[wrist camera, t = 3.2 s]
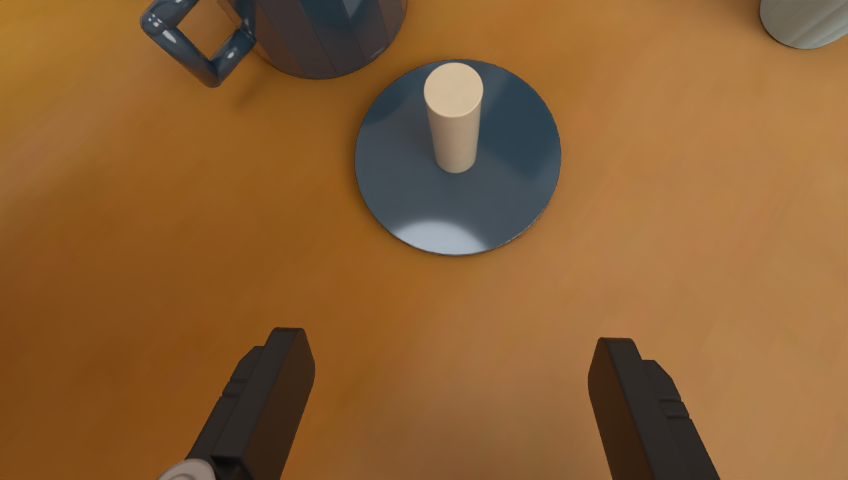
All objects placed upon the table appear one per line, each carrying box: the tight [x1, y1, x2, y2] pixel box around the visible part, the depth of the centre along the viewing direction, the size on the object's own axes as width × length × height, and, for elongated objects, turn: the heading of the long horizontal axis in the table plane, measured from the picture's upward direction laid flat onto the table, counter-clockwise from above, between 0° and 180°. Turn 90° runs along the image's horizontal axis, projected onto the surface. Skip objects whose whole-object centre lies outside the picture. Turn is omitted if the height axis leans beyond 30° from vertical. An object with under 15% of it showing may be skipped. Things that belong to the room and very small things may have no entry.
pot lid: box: [355, 59, 561, 256], centre depth 24 cm, size 14×14×9 cm
